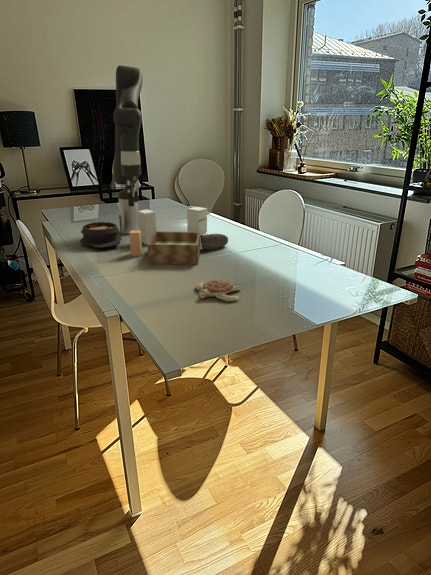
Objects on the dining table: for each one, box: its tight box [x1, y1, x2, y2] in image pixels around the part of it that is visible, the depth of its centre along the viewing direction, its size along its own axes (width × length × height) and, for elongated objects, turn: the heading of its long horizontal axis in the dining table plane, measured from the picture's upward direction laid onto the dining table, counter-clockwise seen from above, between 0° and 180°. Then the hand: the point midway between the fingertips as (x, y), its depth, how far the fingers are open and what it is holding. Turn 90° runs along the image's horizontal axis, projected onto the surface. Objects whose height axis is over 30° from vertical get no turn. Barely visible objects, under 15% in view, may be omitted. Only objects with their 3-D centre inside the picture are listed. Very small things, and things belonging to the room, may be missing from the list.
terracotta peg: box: [129, 230, 143, 257], centre depth 178 cm, size 4×4×10 cm
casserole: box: [80, 221, 123, 249], centre depth 193 cm, size 25×19×8 cm
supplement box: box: [186, 206, 208, 235], centre depth 211 cm, size 7×7×13 cm
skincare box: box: [137, 208, 158, 246], centre depth 194 cm, size 8×6×15 cm
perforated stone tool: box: [200, 233, 229, 251], centre depth 188 cm, size 15×5×7 cm, turn 120°
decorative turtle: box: [195, 279, 242, 302], centre depth 141 cm, size 18×17×5 cm
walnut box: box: [146, 230, 201, 265], centre depth 176 cm, size 20×20×8 cm
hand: (133, 204), depth 172 cm, fingers open, 8 cm apart
